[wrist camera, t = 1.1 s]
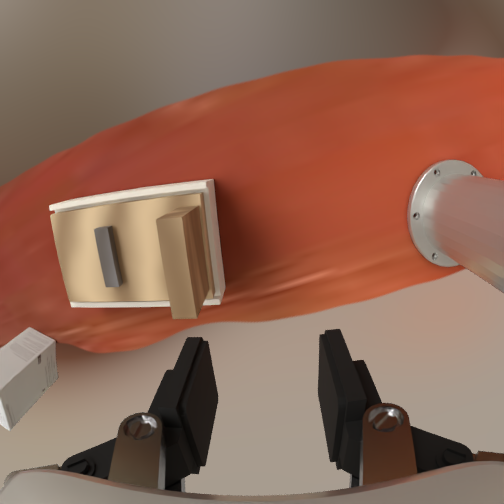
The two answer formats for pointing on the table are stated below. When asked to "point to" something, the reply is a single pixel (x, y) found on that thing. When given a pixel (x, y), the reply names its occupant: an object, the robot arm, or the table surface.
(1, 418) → the skincare box
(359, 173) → the table surface
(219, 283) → the box
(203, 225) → the lid
